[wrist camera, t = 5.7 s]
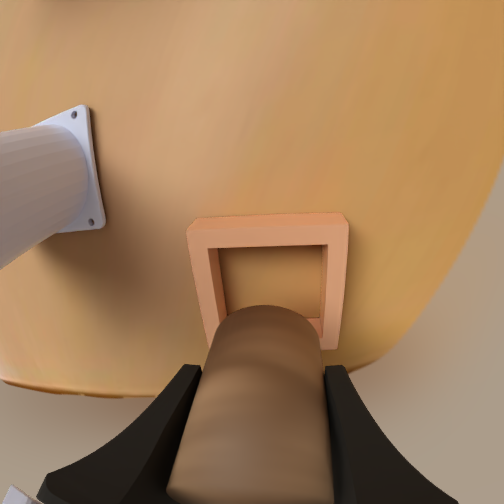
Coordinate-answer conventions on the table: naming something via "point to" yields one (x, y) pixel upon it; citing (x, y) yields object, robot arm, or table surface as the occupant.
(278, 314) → the walnut peg
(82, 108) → the robot arm
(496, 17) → the table surface
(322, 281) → the square collar
